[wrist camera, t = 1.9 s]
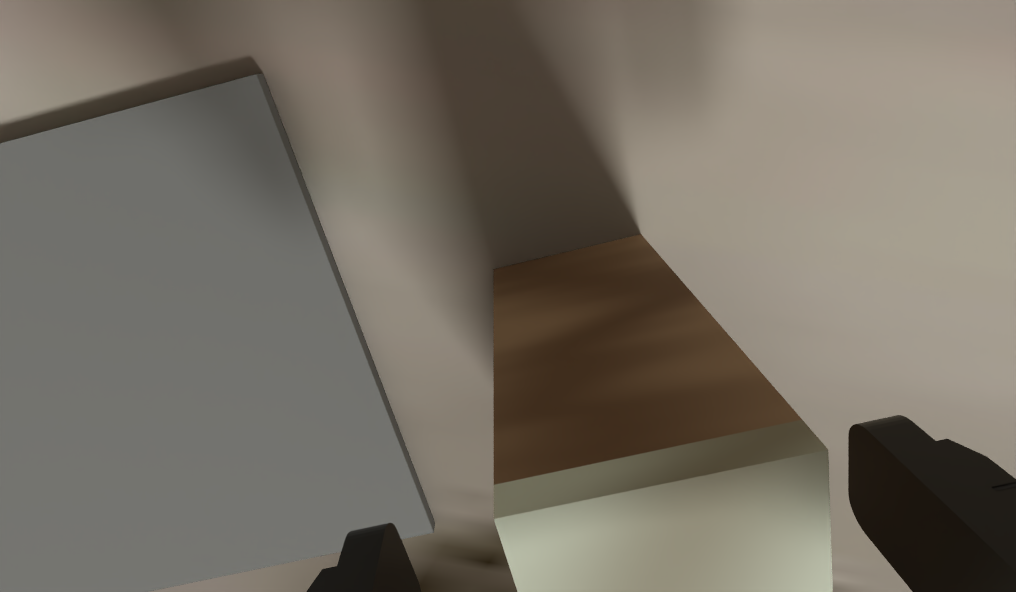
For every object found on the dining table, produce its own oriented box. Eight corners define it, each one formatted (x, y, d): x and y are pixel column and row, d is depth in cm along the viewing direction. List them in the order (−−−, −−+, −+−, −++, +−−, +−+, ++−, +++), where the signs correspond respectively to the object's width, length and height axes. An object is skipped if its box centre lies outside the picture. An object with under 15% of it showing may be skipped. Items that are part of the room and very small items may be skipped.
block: (640, 234, 15) (827, 449, 7) (670, 419, 17) (837, 755, 9) (493, 269, 15) (493, 519, 7) (541, 447, 17) (585, 799, 9)
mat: (263, 74, 13) (256, 74, 13) (435, 523, 18) (433, 532, 18) (-336, 235, 14) (-359, 240, 14) (-12, 616, 19) (-22, 626, 19)
